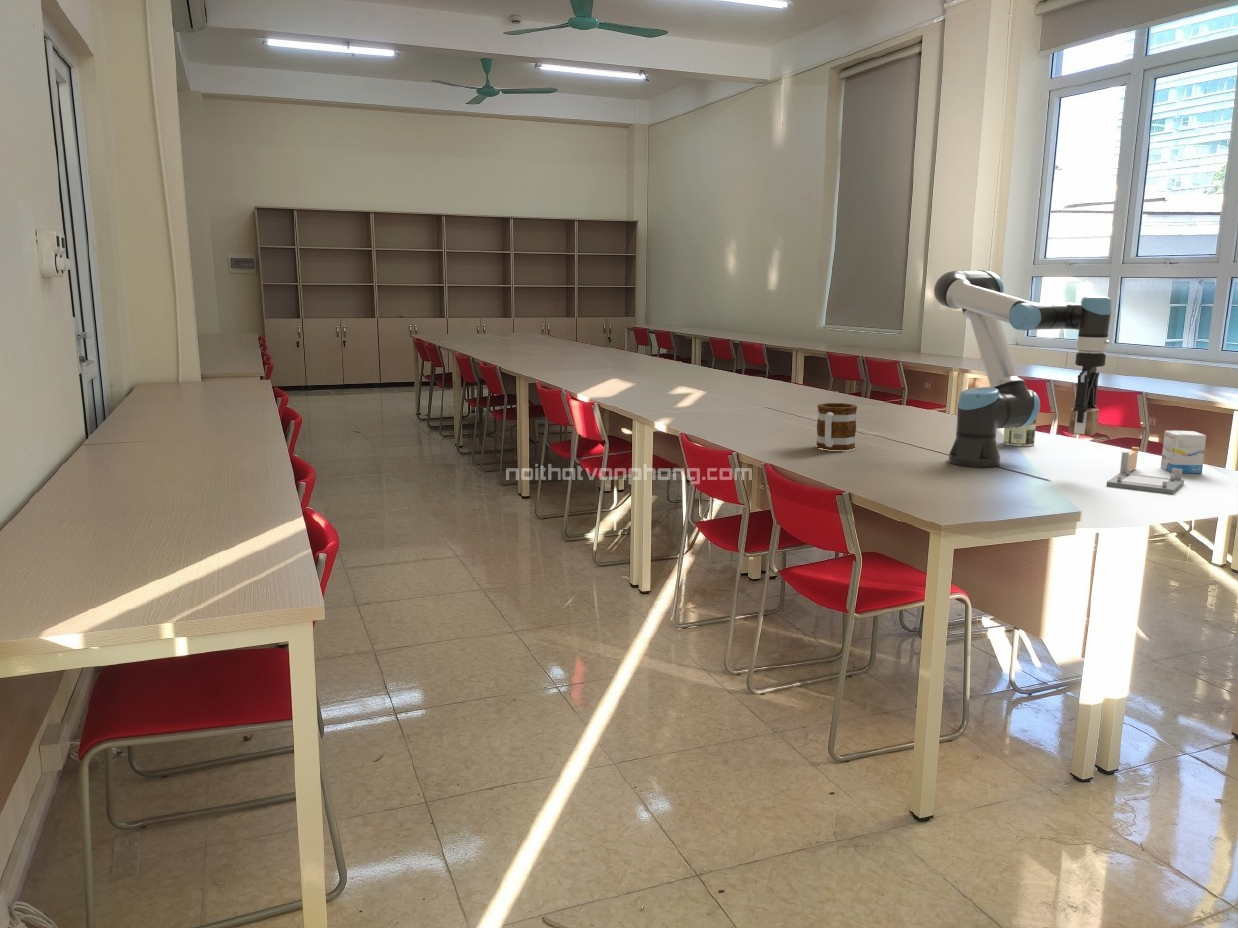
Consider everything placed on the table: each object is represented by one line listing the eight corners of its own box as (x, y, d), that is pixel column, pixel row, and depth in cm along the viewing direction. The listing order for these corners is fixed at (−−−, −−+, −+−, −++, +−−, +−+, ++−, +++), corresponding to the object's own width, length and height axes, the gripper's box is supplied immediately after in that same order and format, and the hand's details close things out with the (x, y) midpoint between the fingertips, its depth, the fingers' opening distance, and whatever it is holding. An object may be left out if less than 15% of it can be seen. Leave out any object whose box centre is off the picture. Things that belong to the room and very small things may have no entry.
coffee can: (1026, 441, 319) (1029, 402, 317) (1039, 446, 309) (1043, 406, 307) (997, 441, 320) (1000, 402, 317) (1009, 446, 309) (1012, 406, 307)
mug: (820, 444, 317) (822, 402, 314) (859, 446, 311) (861, 404, 308) (806, 453, 300) (808, 409, 297) (847, 456, 294) (849, 411, 291)
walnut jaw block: (1068, 433, 258) (1070, 409, 256) (1073, 430, 262) (1076, 406, 261) (1091, 435, 254) (1094, 411, 253) (1096, 433, 258) (1099, 408, 257)
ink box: (1202, 474, 264) (1207, 435, 261) (1170, 473, 265) (1175, 434, 263) (1190, 468, 272) (1195, 430, 270) (1159, 467, 274) (1164, 429, 271)
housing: (1104, 485, 249) (1107, 461, 248) (1120, 474, 263) (1122, 451, 261) (1172, 494, 238) (1175, 468, 237) (1185, 482, 252) (1188, 458, 251)
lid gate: (1127, 474, 262) (1130, 453, 261) (1120, 473, 263) (1123, 452, 262) (1137, 467, 271) (1139, 447, 270) (1130, 467, 272) (1132, 446, 271)
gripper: (1097, 355, 244) (1088, 438, 249) (1114, 350, 258) (1104, 429, 263) (1067, 353, 249) (1059, 435, 253) (1085, 349, 263) (1077, 426, 268)
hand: (1082, 432), depth 258 cm, fingers closed on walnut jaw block, 6 cm apart
